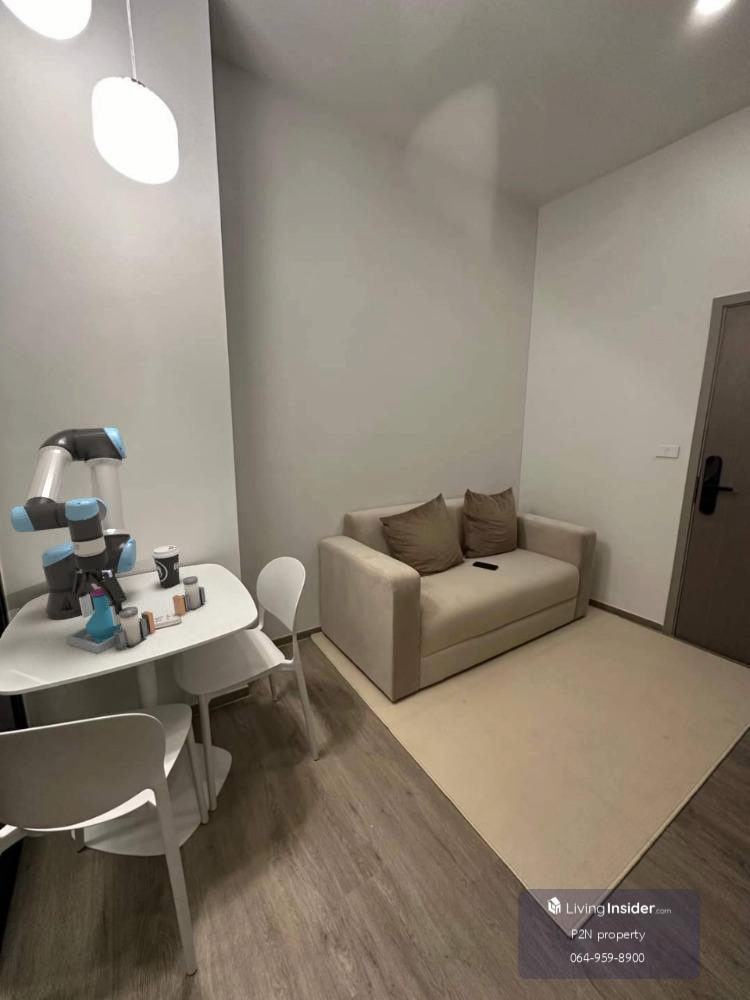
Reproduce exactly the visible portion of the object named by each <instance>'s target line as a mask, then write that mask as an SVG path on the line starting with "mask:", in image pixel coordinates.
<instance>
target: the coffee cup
mask: <svg viewBox="0 0 750 1000" xmlns="http://www.w3.org/2000/svg"><path fill="white" fill-rule="evenodd" d="M179 555H180V549H179V548H178V547H177V546H176V545H173V544H171V545H169V544H167V545H163V546H159V547H157V548H155V549H153V552H152V555H151V558H153V560H154V563H155V568H156V572H157V575H158V578H159V583H160V587H161V588H162V589H172V588H173V587H175V586H177V585H179V584H181V583H180V582H181V581H180V561H179V560H180V559H179V557H180V556H179Z"/></svg>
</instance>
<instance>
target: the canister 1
mask: <svg viewBox="0 0 750 1000" xmlns="http://www.w3.org/2000/svg"><path fill="white" fill-rule="evenodd" d="M119 616H120V620H121V630H122V631H124V634H125V640H126V645H127V646H131V645H135V644H137V643H139V642H140V641H141V634H140V626H139V618H140V617H139V610H138V607H137V606H134V605H133V606H127V607H124V608H123V607H122V610H120V611H119Z"/></svg>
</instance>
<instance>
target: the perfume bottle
mask: <svg viewBox="0 0 750 1000" xmlns="http://www.w3.org/2000/svg"><path fill="white" fill-rule="evenodd" d="M94 589H95V590H93V591H92V592H91V593H90V595H91V596H92V598H93V602H94V608H95V609H94V611H93V614H92V615H90V618H89V619H88V620H87V622H86V624H85V627H86V630H87V632H88V633H89V635H90V637H91V638H92V641H93V642H94V643H102V642H103V641H105V640H107V639H109V638H111V637H113V636H114V635H113V632H114V631H116V630H121V629H122V627H121V623H120V624H118V625H117V626H114V624H113V618H112V613H111V608H110V604H109V599H108V597H107V596H106V595H105V593H104V592H103V591H102V589H101V588H100V587H98V588H94ZM85 627H84V628H85Z"/></svg>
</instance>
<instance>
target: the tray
mask: <svg viewBox="0 0 750 1000" xmlns="http://www.w3.org/2000/svg"><path fill="white" fill-rule="evenodd" d="M89 635H90V634H89V633H88V632H87V630H86V627H83V628H81V629H79V630H77V631H75V632H73V633H70V634H69V635H67V636H65V641H66V644H67V645H69V646H71V647H76V648H79V649H82V650H85V651H89V652H93V653H96V654H100V655H101V653H103V652H104V651H107V650H108V649H110V648H112V647H113V646H115V640H114V636H113V637H111V638H109V639H107V640H105V641H103V642H99V643H98V642H95V641H90V640H86V639H83V638H85V637H87V636H89Z"/></svg>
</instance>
